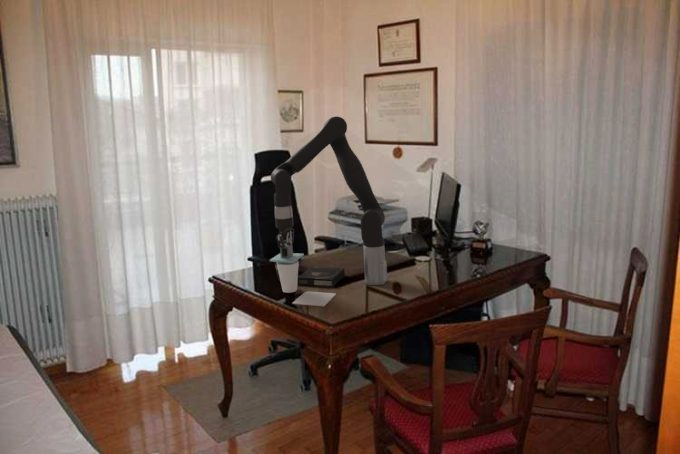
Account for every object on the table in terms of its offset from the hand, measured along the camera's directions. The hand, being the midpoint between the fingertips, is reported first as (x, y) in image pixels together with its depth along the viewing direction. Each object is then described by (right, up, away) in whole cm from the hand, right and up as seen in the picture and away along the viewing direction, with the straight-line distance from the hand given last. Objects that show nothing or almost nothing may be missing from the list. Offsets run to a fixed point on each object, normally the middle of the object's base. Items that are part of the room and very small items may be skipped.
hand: (287, 254), depth 245 cm
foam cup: (+1, -16, +4) cm, 16 cm away
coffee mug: (-3, -12, +23) cm, 26 cm away
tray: (+12, -18, -9) cm, 23 cm away
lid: (0, -2, 0) cm, 2 cm away
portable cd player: (+14, -13, +15) cm, 24 cm away
